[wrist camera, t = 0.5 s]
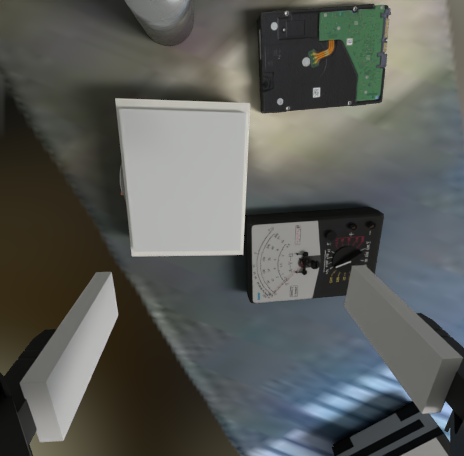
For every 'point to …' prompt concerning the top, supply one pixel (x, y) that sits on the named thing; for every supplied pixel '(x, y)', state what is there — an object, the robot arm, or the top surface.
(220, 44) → the top surface
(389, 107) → the top surface
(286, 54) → the disk drive
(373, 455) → the game console
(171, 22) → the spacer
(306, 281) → the multimeter
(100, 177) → the top surface
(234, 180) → the scale
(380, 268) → the top surface
